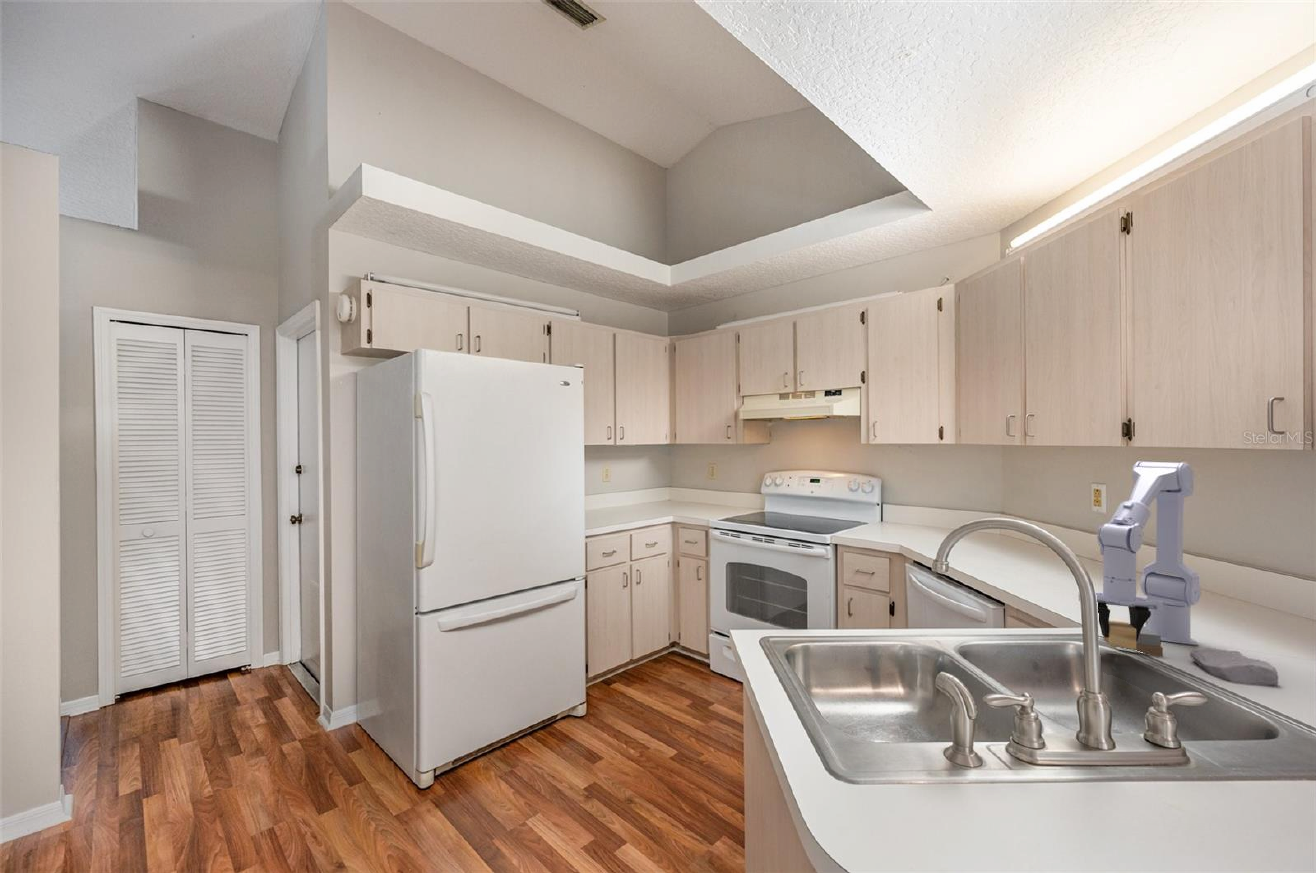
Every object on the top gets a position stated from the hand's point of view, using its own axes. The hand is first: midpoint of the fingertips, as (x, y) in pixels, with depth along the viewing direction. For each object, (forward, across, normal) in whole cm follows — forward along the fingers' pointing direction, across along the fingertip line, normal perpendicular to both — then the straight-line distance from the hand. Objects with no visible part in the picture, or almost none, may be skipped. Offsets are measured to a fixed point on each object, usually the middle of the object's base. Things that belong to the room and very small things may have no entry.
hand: (1119, 637), depth 121 cm
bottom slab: (+5, +5, +8) cm, 11 cm away
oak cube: (+1, 0, 0) cm, 1 cm away
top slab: (+2, +5, +8) cm, 10 cm away
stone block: (+5, +18, -1) cm, 19 cm away
